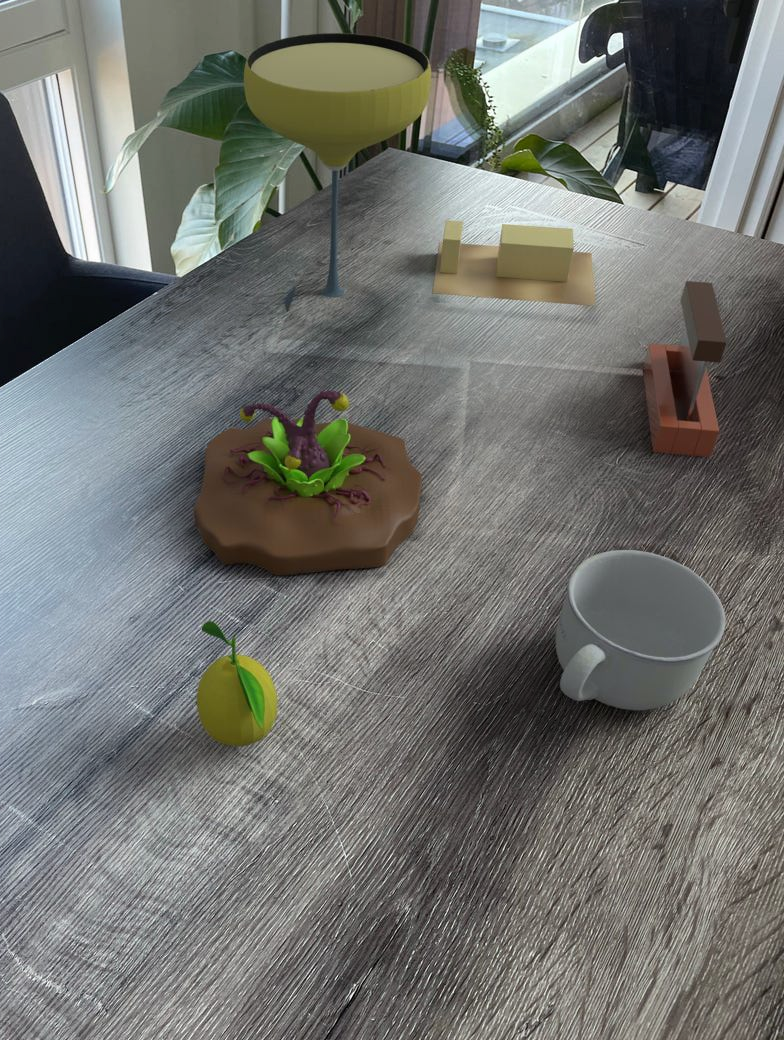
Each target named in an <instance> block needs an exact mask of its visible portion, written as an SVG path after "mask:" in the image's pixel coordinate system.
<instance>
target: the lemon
mask: <svg viewBox="0 0 784 1040" xmlns="http://www.w3.org/2000/svg"><path fill="white" fill-rule="evenodd" d="M201 631H202V632H203V633H206V634H207V635H210V636H212V637H215V638H217V639H221V640H222V641H223V642H224V643H226V644H227V645H228V646H231V654H228V655H227V654H226V655H224V656H222V657H220V658H218V659H216V660H215V661H213V662H212V663H211V664H210V665H209V666H208V667H207V668H206V669H205V671H204V672H203V674H202V676H201V678H200V679H199V682H198V686H197V692H196V693H197V695H196V710H197V714H198V718H199V722H200V725H201V726H202V727H203V729H204V730H205V732H206V733H207V734H208V736H209V737H210V738H212V740H215V741H216V742H218V743H219V744H222V745H227V746H231V747H245V746H249V745H253V744H255V743H257V742H259V741H262V740H263V739H264V737H266V735H268V733H269V732H270V731H271V730H272V727H273V726H274V723H275V720H276V718H277V716H278V693H277V689H276V686H275V683H274V682H273V681H274V680H273V679H272V676H271V674H270V672H268V670H267V669H266V668H265V667H264V666H263V665H262V664H261V663H260V662H259V661H258V660H256V659H254V658H252V657H250V656H248V655H243V654H240V653H238V654H237V652H236V651H237V650H236V649H237V648H236V637H235V636H234V637H232V638H231V640H228V639H227V638H226V636H225V634H224V632H223V631H222V629H221V628H220V626H219V625H218V624H217V623H215V622H214V621H213V620H209V621H205V623H203V624H202V626H201Z"/></svg>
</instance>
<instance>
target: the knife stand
mask: <svg viewBox="0 0 784 1040" xmlns="http://www.w3.org/2000/svg"><path fill="white" fill-rule="evenodd" d="M678 347H679V345H675V344H663V343H651V342H650V343H648V345H647V349H646V352H645V356H644V360H643V367H644V368H641V369H642V377H643V384H644V393H645V399H646V400H645V401H646V407H647V414H648V423H649V430H650V431H649V432H650V437H651V446H652V452H653V453H664V454H672V455H673V454H674V455H683V456H693V457H694V456H695V457H706V458H711V456H712V454H713V451H714V449H715V447H716V446H715V445H716V442H717V440H718V437H719V434H720V427H719V423H718V418H717V414H716V409H715V408H716V407H715V404H714V399H713V395H712V390H711V385H710V380H709V375H708V372H707V371H708V370H707V368H706V369H705V373H704V376H703V379H702V382H701V385H700V388H699V392H698V395H697V398H696V401H695V404H694V407H693V411H692V414H691V417H690V420H689V421H680V420H678V421H677V415H676V409H675V403H674V397H673V391H672V385H671V379H670V375H671V372H672V368H673V365H674V361H675V358H676V354H677V351H678Z"/></svg>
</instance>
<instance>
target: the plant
mask: <svg viewBox="0 0 784 1040" xmlns="http://www.w3.org/2000/svg"><path fill="white" fill-rule="evenodd" d="M322 400H328V401H329V404H330V406H331V408H332V409H334V410H335V411H337V412H345V411H347V410H348V408H349V406H350V399H349V398H348V397H347V395H345V393H343V392H341V391H337V390H330V389H328V390H321V391H319V393H318V394H316V395H315V396H314V397H313V398H312V399H311V401H310V403H308V404H307V408H306V409H305V410H304V411H303V417H301V418H299V417H297V418H294V419H291V416H288V413H284V412H283V410H282V409H281V410H280V409H279V407H274V406H273V405H271V404H270V403H267V404H266V403H264V402H263V403H261V402H259V403H258V402H257V403H256V404H255V403H253V404H247V405H244V406H243V407H242V408H240V411H239V417H240V419H241V420H242V421H243V422H244V423H250V422H251V421H252V420H253V419H254V418H255V416H256V410H258V411H261V410H262V411H263V412H268V413H269V414H270V415H273V416H274V417H273V418H264V419H262V420H260V421H259V422H257V423H256V424H254V425H252V426H250V427H247V428H237V427H230V428H227V429H226V430H224V431H222V432H220V433H219V434H217V435H216V436H214V437H213V438H212V439H211V440H210V441H209V442H208V443H207V445H206V447H205V450H204V459H203V463H204V464H203V465H204V473H203V476H202V477H203V478H202V482H201V488H200V493H199V496H198V498H197V500H196V502H195V503H194V505H193V509H192V512H193V523H194V526H195V528H196V530H198V532H199V534H200V538H201V540H202V542H203V544H204V545H205V546H206V547H207V548H208V549H209V550H210V551H212V552H213V553H214V554H215V555H216V557H217V558H218V560H219V561H220V563H221V564H222V565H224V566H227V565H234V564H250V565H253V566H256V567H260V568H262V569H264V570H266V571H267V572H268V573H270V574H272V575H275V576H292V575H299V574H310V573H320V572H328V571H329V572H331V571H337V570H339V571H340V570H355V569H372V568H373V569H374V568H379V567H382V566H385V565H387V562H388V561H389V560H390V558H391V556H392V555H393V553H394V552H395V550H396V549H397V547H399V546H400V544H401V543H402V542H404V541H405V540H407V539H408V538H409V537H410V536H411V535H412V533H413V532H414V530H415V528H416V526H417V523H418V519H419V513H420V503H421V493H422V484H423V475H422V473H421V471H419V470H418V469H417V468H416V467H415V466H414V465H413V464H412V463H411V460H410V459H409V456H408V455H409V454H408V451H407V448H406V444H405V443H406V442H405V439H404V438H402V437H398V436H395V435H392V434H389V433H387V432H383V431H380V430H376V429H372V428H370V427H369V428H368V427H365V426H362V425H358V424H355V423H351V422H348V421H347V419H345V418H341V419H337V420H334V421H332V422H321V423H316V420H315V419H316V418H315V416H316V414H317V413H316V412H317V409H318V408H319V405H320V403H321V402H322Z"/></svg>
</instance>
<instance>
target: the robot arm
mask: <svg viewBox="0 0 784 1040" xmlns="http://www.w3.org/2000/svg"><path fill="white" fill-rule="evenodd" d="M754 1H755V0H724V3H723V13H724V15H725V17H726V18H732V19H731V23H730V26H729V30H728V34H727V38H726V42H725V46H724V51H723V55H724V58H725V60H726V62H727V63H728V64H733V65H735V64H736V65H737V64H738V63H739V60H740V55H741V51H742V48H743V43H744V41H745V36H746V32H747V28H748V24H749V20H750V17H751V13H752V9H753V5H754Z"/></svg>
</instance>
